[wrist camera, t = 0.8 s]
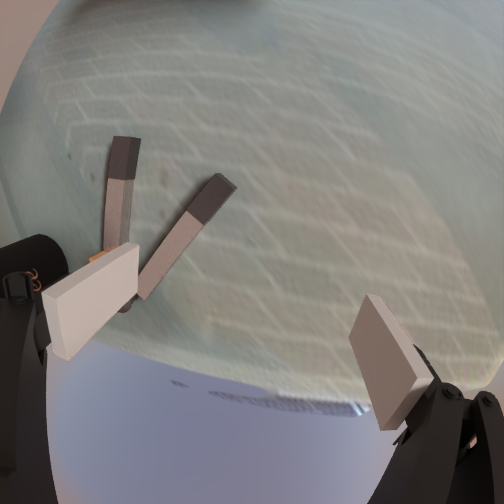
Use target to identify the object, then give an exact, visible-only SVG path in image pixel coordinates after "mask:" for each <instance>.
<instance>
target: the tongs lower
mask: <svg viewBox="0 0 504 504" xmlns="http://www.w3.org/2000/svg"><path fill="white" fill-rule="evenodd" d="M140 142H141V139H140V138H134V137H124V136H114V137H113V143H112V149H111V155H110V162H109V169H108V185H107V195H106V206H105V221H104V247H103V251H104V252H110V251H112V250H114V249H115V248H117V247H119V246H121V245H123V244H125V243H126V242H128V241H129V226H130V214H131V204H132V195H133V186H134V179H135V174H136V167H137V160H138V154H139V148H140ZM137 298H138V294H137V293H136V294H135V295H134V296H133V297H132V298H131V299H130V300H129V301H128V302H127V303H125V304H124V305H123V306H122V307H121V308H120V309H119V310H118V312H120V313H125V312H127V311H128V310H129V309H130V308H131V305H132V303H133V302H134V301H135V300H136V299H137Z"/></svg>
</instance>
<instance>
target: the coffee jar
mask: <svg viewBox="0 0 504 504" xmlns="http://www.w3.org/2000/svg"><path fill="white" fill-rule="evenodd" d="M19 271H22V272H27V273H29V274H30V275H31V276H32V281H33V288H34V293H36V292H38V291H39V290H41V289H42V288H44V287H46V286H47V285H49V284H51V283H52V282H54V281H55V280H57V279H59V278H60V277H62V276H64V275H66V274H69V273H68V265H67V261H66V258H65V256H64V253H63V251H62V249H61V248H60V247H59V245H58V244H57V243H56V242H55V241H54V240H53V239H51V238H49V237H48V236H45V235H41V234H37V235H33V236H31V237H28V238H26V239H23V240H20V241H18V242H15V243H13V244H10V245H8V246H5V247H3V248H0V298H3V299H6V297H5V292H4V287H3V281H2V279H3V277H4V276H6V275H7V274H9V273H13V272H19Z"/></svg>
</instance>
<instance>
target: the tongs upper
mask: <svg viewBox="0 0 504 504" xmlns="http://www.w3.org/2000/svg"><path fill="white" fill-rule="evenodd" d="M236 189H237V187H236V186H235V185H234V184H233V183H231V182H230V181H229V180H228V179H227V178H225V177H224V176H223V175H222V174H221V173H216V174H215V175H214V176H213V177H212V178H211V180H210V181H209V182H208V183H207V184H206V186H205V187H204V188H203V189H202V191H201V192H200V193H199V194H198V196H197V197H196V198H195V199H194V201H193V202H192V203H191V204H190V206H189V207H188V208H187V209H186V212H185V213H184V214H183V216H182V217H181V218H180V220H179V221H178V222H177V223H176V225H175V226H174V227H173V229H172V230H171V231H170V233H169V234H168V235H167V237H166V238H165V239H164V241H163V242H162V244H161V245H160V246H159V248H158V249H157V250H156V252H155V253H154V255H153V256H152V257H151V259H150V260H149V262H148V263H147V264H146V266H145V267H144V269H143V270H142V272H141V273H140V275H139V276H138V289H137V294H138V295H139V296H140V297H141V298H142V299H144V300H146V299H147V298H148V297H149V295H150V294H151V293H152V292H153V291H154V290H155V288H156V287H157V286H158V284H159V283H160V282H161V280H162V279H163V278H164V276H165V275H166V274H167V273H168V271H169V270H170V269H171V267H172V266H173V265H174V264H175V262H176V261H177V260H178V258H179V257H180V256H181V255H182V253H183V252H184V251H185V250H186V248H187V247H188V246H189V245H190V243H191V242H192V241H193V240H194V238H195V237H196V236H197V235H198V233H199V232H200V231H201V230H202V229H203V227H204V226H205V225H206V224H207V222H209V221H210V220H211V218H212V217H213V216H214V215H215V214H216V212H217V211H218V210H219V209H220V208H221V206H222V205H223V204H224V203H225V202H226V201H227V199H228V198H229V197H230V196H231V195H232V194H233V192H234V191H235V190H236Z"/></svg>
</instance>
